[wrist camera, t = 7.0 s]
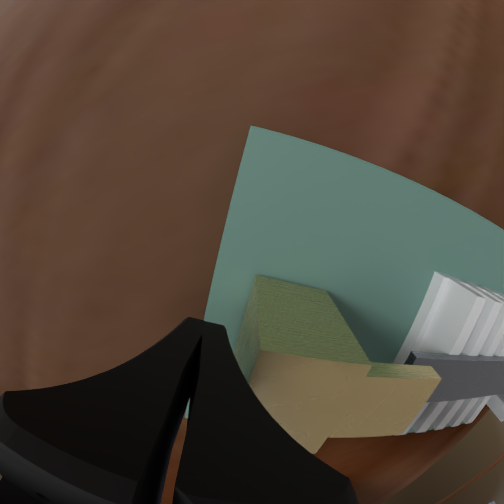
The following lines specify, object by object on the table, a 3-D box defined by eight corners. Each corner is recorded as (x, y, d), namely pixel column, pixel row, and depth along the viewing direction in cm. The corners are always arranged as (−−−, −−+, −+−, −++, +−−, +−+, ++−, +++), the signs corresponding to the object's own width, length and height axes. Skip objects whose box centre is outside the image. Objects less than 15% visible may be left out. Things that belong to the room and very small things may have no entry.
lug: (359, 374, 13) (396, 448, 8) (232, 355, 12) (225, 445, 7) (393, 305, 12) (454, 369, 7) (255, 274, 11) (260, 349, 6)
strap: (509, 389, 11) (516, 396, 10) (378, 399, 10) (385, 414, 9) (532, 349, 10) (540, 356, 9) (412, 339, 9) (424, 352, 8)
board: (461, 416, 16) (488, 454, 11) (187, 406, 15) (170, 480, 9) (540, 258, 13) (587, 280, 7) (250, 129, 11) (252, 91, 6)
